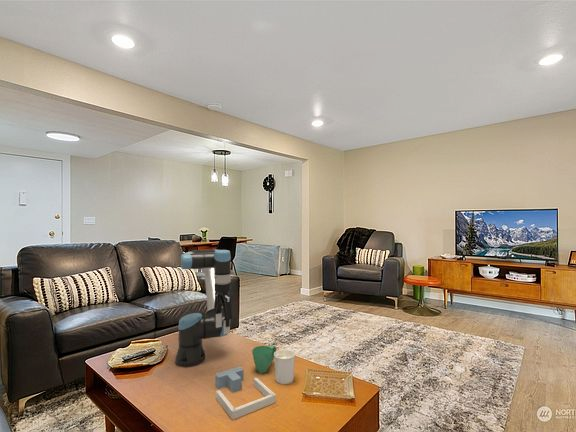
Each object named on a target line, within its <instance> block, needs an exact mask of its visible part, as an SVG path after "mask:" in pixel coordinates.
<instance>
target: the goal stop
mask: <svg viewBox="0 0 576 432" xmlns="http://www.w3.org/2000/svg"><path fill="white" fill-rule="evenodd" d="M253 386H254V387H255V388H256V389H257V390H258V391H259V392H260V393H261V394H263V397H261V398H258V399H255V400H252V401H251V402H247V403H245V404H242V405H240V406H237V407H235V406H233V405H232V403H231V402H230V401H229V399H228V398H227V397H226V396H225V395H224V393H223V392H222V391H221V390H220V389H218V390H216V391H215V396H216V397H215V398H216V400H217V402H218V403H219V404H220V406H221V407H222V408H223V410H224V411H225V412H226V413H227V415H228V416H229V418H230V419H231V420H236V419H238V418H241V417H243V416H246V415H248V414H250V413H253V412H255V411H256V412H257V411H258V410H260V409H263V408H266V407H267V406H270V405H273V404H275V403H276V401H277V400H276V396H277V395H276V393H275V392H273V390H271V389H270V388H269V387H268V386H267V385H265V384H264V383H263V382H262V381H261V379H259V378H258V377H254V378H253Z"/></svg>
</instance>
